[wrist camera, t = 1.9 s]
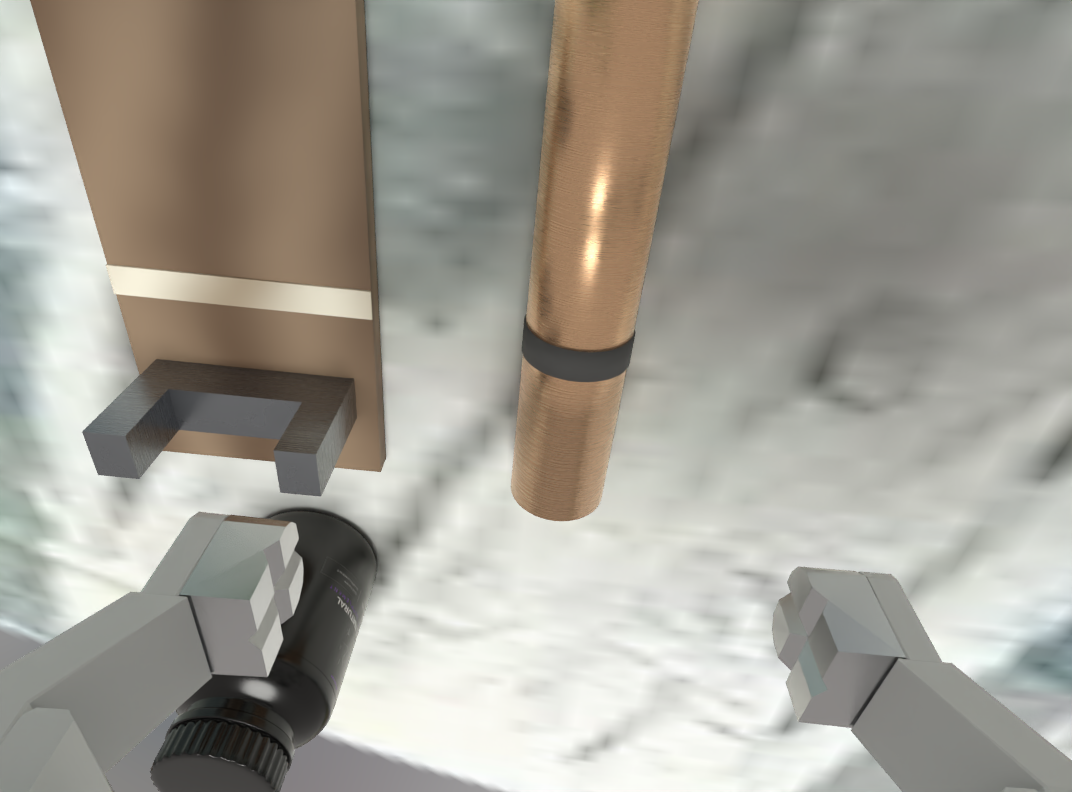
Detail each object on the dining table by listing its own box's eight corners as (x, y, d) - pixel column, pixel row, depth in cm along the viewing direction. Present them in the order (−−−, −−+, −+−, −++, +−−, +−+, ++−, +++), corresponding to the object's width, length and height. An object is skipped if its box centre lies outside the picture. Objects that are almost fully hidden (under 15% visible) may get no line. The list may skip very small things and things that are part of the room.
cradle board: (352, -235, 18) (340, -245, 17) (385, 457, 31) (380, 473, 30) (-25, -279, 17) (-58, -291, 16) (172, 437, 31) (160, 452, 30)
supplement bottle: (406, 557, 35) (341, 799, 25) (328, 610, 38) (241, 847, 28) (300, 483, 32) (180, 720, 22) (224, 546, 35) (87, 782, 25)
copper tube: (540, -171, 17) (623, -187, 14) (669, -146, 19) (767, -157, 16) (495, 469, 30) (534, 532, 27) (575, 450, 31) (620, 508, 28)
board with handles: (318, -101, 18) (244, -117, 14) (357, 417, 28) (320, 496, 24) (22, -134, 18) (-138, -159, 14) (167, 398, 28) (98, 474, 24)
